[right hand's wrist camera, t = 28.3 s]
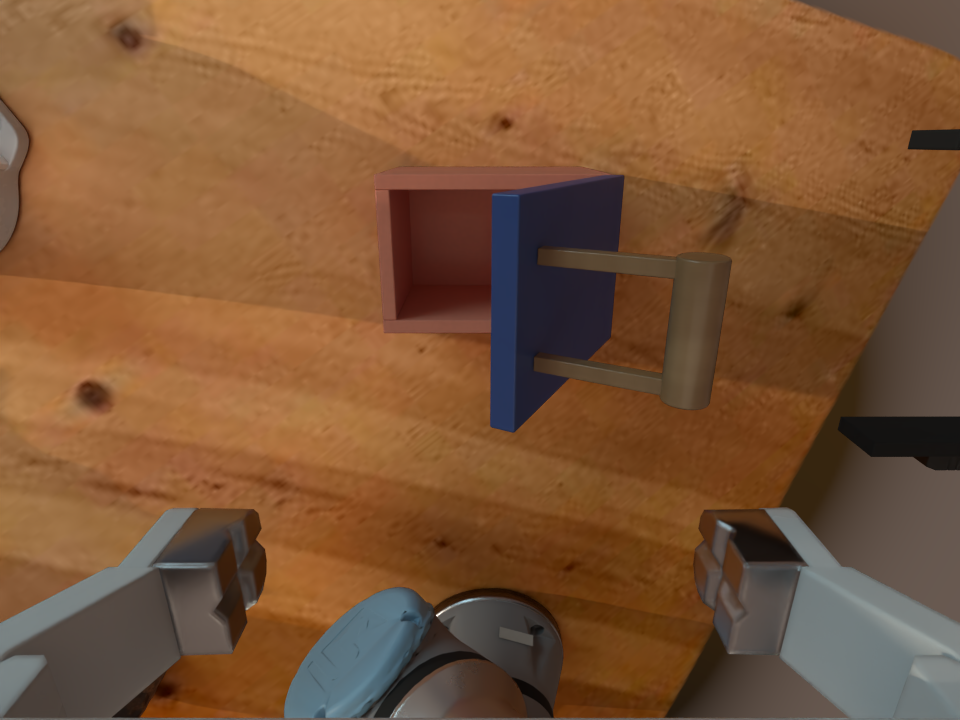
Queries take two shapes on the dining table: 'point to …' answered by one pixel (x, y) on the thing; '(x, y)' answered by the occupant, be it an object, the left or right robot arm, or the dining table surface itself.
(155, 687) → the decorative rock
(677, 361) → the lid
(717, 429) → the dining table surface
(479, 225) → the chest
